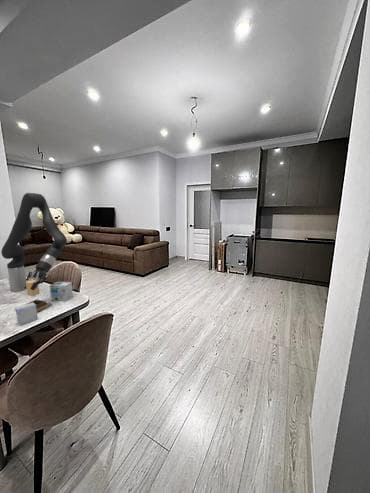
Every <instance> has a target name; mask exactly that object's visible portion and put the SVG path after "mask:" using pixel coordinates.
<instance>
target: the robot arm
mask: <svg viewBox="0 0 370 493" xmlns="http://www.w3.org/2000/svg"><path fill="white" fill-rule="evenodd" d="M34 208H36V209H38V210H39V211H40V213H41V215H42V216H41V217H42V226H43V227H44V229H45V231H46V233H47V234H48V235H49V236H51V238H52V239H53V242H52V244H51V245H50V247H49V248H48V249H47V250H46V251H45V253H44V255H43V256H42V257H41V258H40V259H39V261H38V262H37V264H36V265H35V270H33V271H29V272H28V274H27V276H26V271H25V270H26V269H25V263H26V262H25V260H26V259H25V250H24V248H23V246H22V245H21V244H19V243H20V242H21V241H23V239H25V237H27V236H28V235H29V233H30V231H31V229H32V226H33V222H32V219H31V212H32V210H33V209H34ZM67 243H68V239H67V237H66V235H65V234H64V233H63V231H62V230H60V228H59V226H58V225H57V222H56V221H55V219H54V218H53V216H52V213H51V210H50V207H49V205H48V202H47V200H46V198H45V196H44V195H43V194H41V193H35V192H34V193H33V192H26V193H24V194H23V196H22V199H21V202H20V207H19V211H18V213H17V216H16V218H15V221H14V223H13V225H12V228H11V231H10V233H9V235H8V236H7V239H6V241H5V243H4V245H3V246H2V248H1V253H0V254H1V256H2V257H3V258H4V259H6V260H10V259H11V261H9V262H8V263H7V264H6V266H7V272H8V274H7V275H8V285H9V288H10V291H11V292H15V293H16V292H21V291H24V290H27V288H26V282H28V281H31V280H35V283H34V284H33V285H32V287H31V288H30V289H31V290H35V289H36V287H37V285H38V286H39V285H40V284H41V285H42V284H44V282H45V281H46V280H47V279H48V278H49V277H50V275H49V274H48V273H49V272H50V270H51V269H52V268H53V266H54V264H55V263H56V260H58V259H57V258H58V257H59V256H60V254H61V252H62V250H63V249H64V248H65V247H66V244H67Z"/></svg>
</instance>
